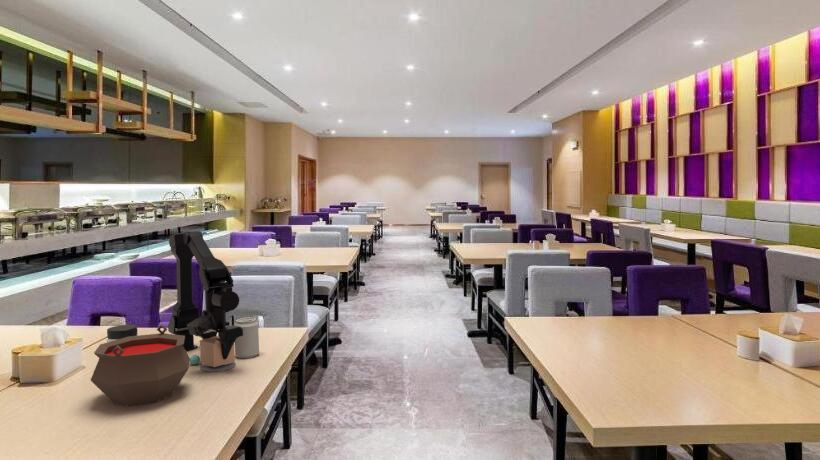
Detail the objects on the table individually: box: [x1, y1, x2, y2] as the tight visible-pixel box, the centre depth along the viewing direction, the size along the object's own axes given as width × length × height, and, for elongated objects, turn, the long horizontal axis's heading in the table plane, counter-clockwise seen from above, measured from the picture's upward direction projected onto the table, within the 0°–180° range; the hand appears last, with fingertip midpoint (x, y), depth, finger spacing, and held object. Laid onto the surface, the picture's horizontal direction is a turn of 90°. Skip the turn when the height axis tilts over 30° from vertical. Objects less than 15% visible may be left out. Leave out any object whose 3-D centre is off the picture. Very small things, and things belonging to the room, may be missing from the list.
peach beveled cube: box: [199, 335, 236, 367], centre depth 161 cm, size 7×7×7 cm
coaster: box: [199, 361, 236, 373], centre depth 161 cm, size 10×10×1 cm
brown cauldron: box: [90, 323, 191, 407], centre depth 138 cm, size 24×24×16 cm
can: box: [233, 316, 260, 359], centre depth 172 cm, size 8×8×12 cm
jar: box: [106, 324, 139, 343], centre depth 163 cm, size 9×8×12 cm
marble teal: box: [189, 354, 201, 366], centre depth 164 cm, size 3×3×3 cm
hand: (217, 357), depth 161 cm, fingers closed on peach beveled cube, 7 cm apart
